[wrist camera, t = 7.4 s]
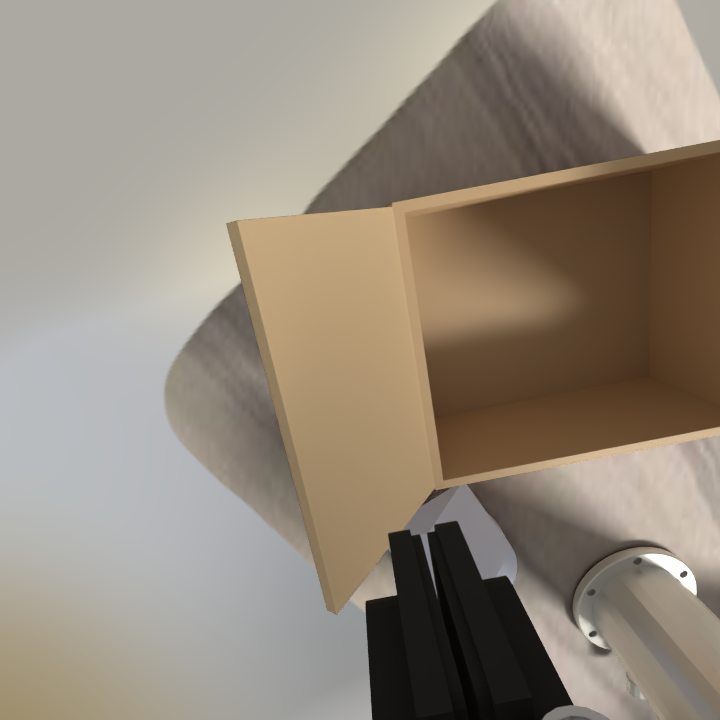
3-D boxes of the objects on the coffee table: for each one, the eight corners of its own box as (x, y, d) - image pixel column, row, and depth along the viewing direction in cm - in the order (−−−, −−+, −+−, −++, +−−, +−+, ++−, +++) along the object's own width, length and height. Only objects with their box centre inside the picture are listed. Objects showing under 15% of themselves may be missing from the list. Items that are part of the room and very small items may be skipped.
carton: (651, 379, 37) (763, 426, 27) (409, 426, 37) (435, 490, 27) (653, 162, 32) (791, 126, 22) (374, 215, 32) (391, 202, 22)
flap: (336, 615, 19) (325, 609, 19) (435, 487, 27) (425, 485, 27) (236, 220, 14) (224, 224, 15) (392, 206, 22) (381, 209, 22)
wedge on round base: (372, 510, 39) (443, 598, 42) (379, 563, 32) (462, 662, 36) (452, 460, 38) (519, 553, 41) (476, 504, 31) (553, 611, 35)
